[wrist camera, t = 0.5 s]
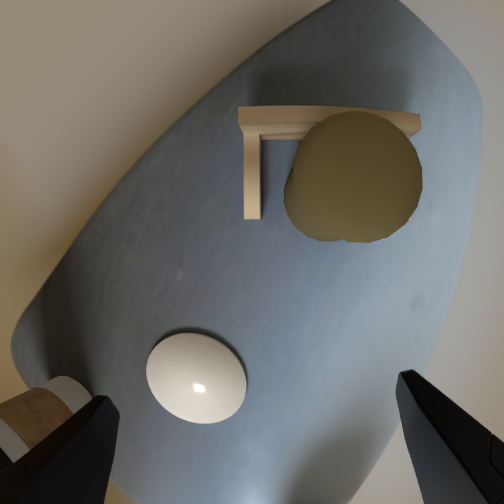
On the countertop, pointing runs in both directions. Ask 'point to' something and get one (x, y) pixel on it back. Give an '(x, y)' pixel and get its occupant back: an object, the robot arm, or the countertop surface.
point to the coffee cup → (37, 415)
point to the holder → (292, 137)
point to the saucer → (196, 378)
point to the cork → (353, 179)
